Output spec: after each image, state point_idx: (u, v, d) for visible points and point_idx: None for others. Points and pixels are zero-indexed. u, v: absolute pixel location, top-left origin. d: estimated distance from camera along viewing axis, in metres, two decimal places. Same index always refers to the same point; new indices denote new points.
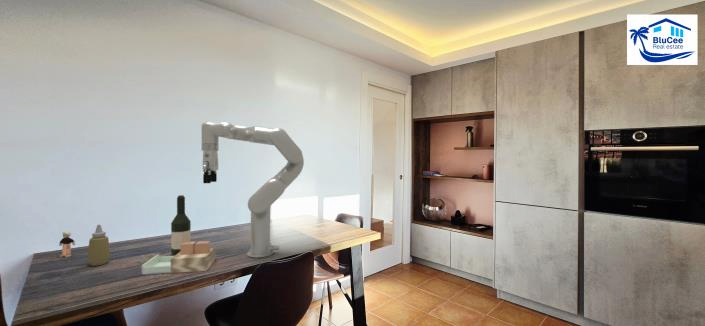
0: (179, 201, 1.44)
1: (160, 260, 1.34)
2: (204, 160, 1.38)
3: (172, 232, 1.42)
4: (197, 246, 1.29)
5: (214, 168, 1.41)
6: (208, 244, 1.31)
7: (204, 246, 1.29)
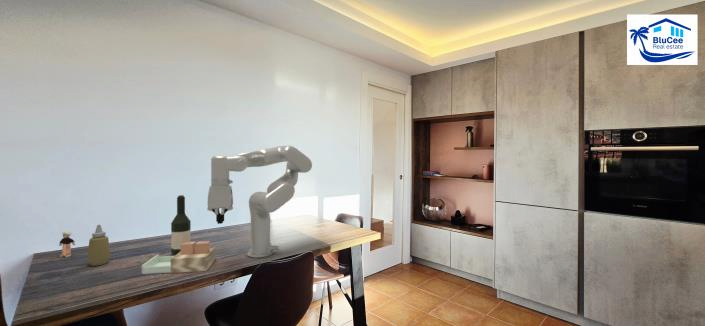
0: (179, 201, 1.44)
1: (160, 260, 1.34)
2: (231, 196, 1.32)
3: (172, 232, 1.42)
4: (197, 246, 1.29)
5: None
6: (208, 244, 1.31)
7: (204, 246, 1.29)
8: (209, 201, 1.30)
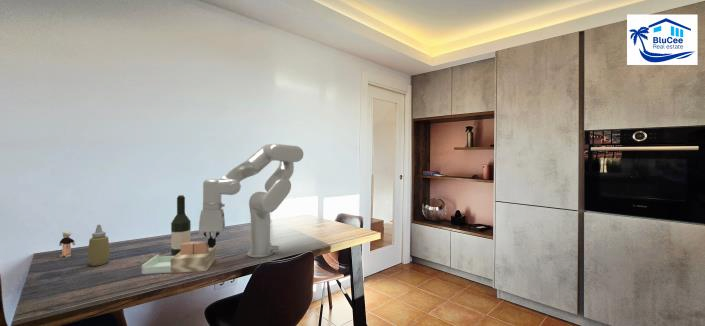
0: (179, 201, 1.44)
1: (160, 260, 1.34)
2: (222, 220, 1.31)
3: (172, 232, 1.42)
4: (195, 246, 1.29)
5: None
6: (207, 244, 1.31)
7: (203, 246, 1.29)
8: (200, 225, 1.29)
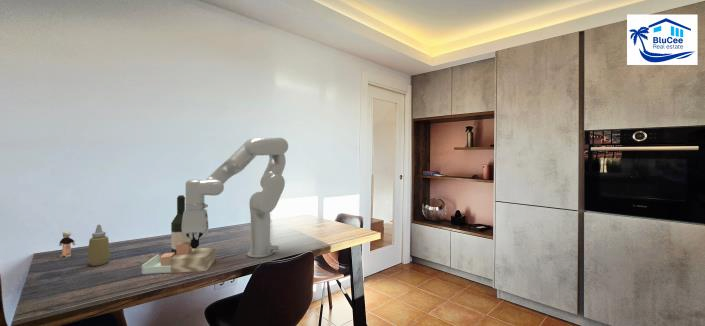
0: (179, 201, 1.44)
1: None
2: (205, 221, 1.30)
3: (172, 232, 1.42)
4: (178, 247, 1.28)
5: None
6: (190, 245, 1.30)
7: (185, 246, 1.28)
8: (183, 226, 1.28)
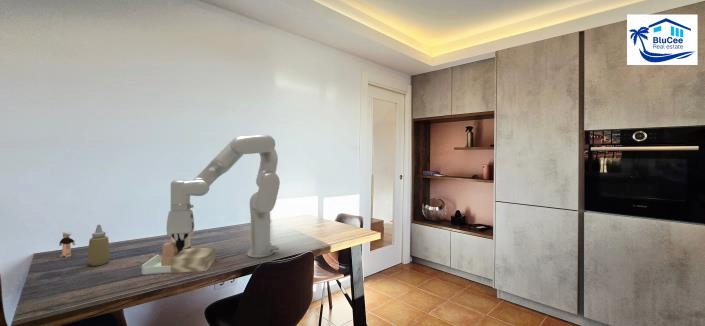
0: None
1: (160, 260, 1.34)
2: (191, 221, 1.29)
3: None
4: (165, 254, 1.27)
5: None
6: (166, 244, 1.28)
7: (165, 248, 1.27)
8: (168, 227, 1.27)
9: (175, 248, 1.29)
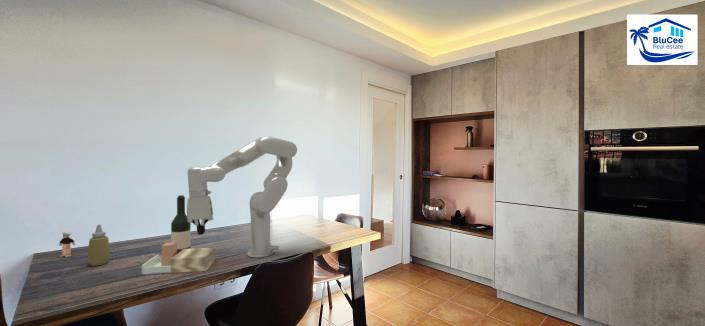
0: (179, 201, 1.44)
1: (160, 260, 1.34)
2: (210, 207, 1.32)
3: (172, 232, 1.42)
4: (164, 254, 1.27)
5: None
6: (166, 244, 1.28)
7: (164, 248, 1.27)
8: (188, 213, 1.30)
9: (174, 248, 1.29)
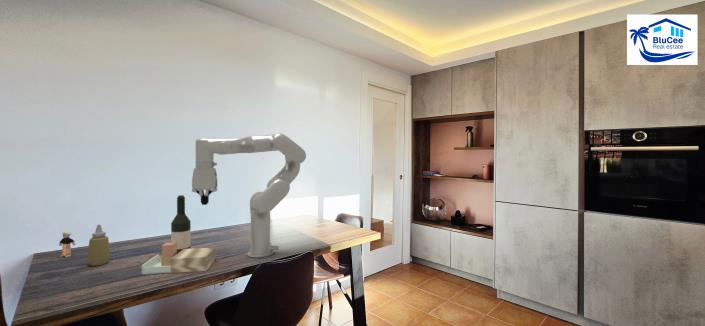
0: (179, 201, 1.44)
1: (160, 260, 1.34)
2: (215, 178, 1.35)
3: (172, 232, 1.42)
4: (164, 254, 1.27)
5: None
6: (166, 244, 1.28)
7: (164, 248, 1.27)
8: (193, 182, 1.32)
9: (174, 248, 1.29)
